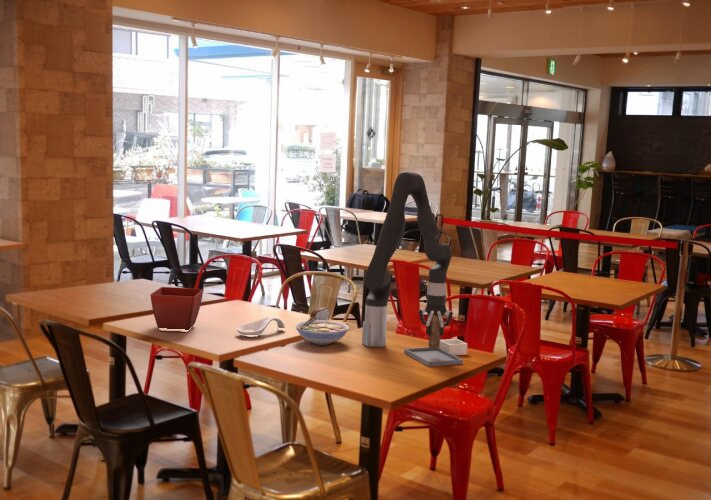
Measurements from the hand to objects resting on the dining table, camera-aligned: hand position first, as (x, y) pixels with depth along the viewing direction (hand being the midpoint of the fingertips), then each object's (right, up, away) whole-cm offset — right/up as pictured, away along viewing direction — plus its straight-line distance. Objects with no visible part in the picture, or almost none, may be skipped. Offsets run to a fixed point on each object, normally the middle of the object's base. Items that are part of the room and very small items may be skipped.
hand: (434, 335), depth 321 cm
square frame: (+9, -8, +12) cm, 17 cm away
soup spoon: (-48, -1, +52) cm, 71 cm away
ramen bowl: (-46, -5, +19) cm, 50 cm away
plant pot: (-110, -1, +31) cm, 114 cm away
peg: (0, -5, +1) cm, 5 cm away
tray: (-1, -9, +1) cm, 9 cm away
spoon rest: (-73, -3, +29) cm, 78 cm away
